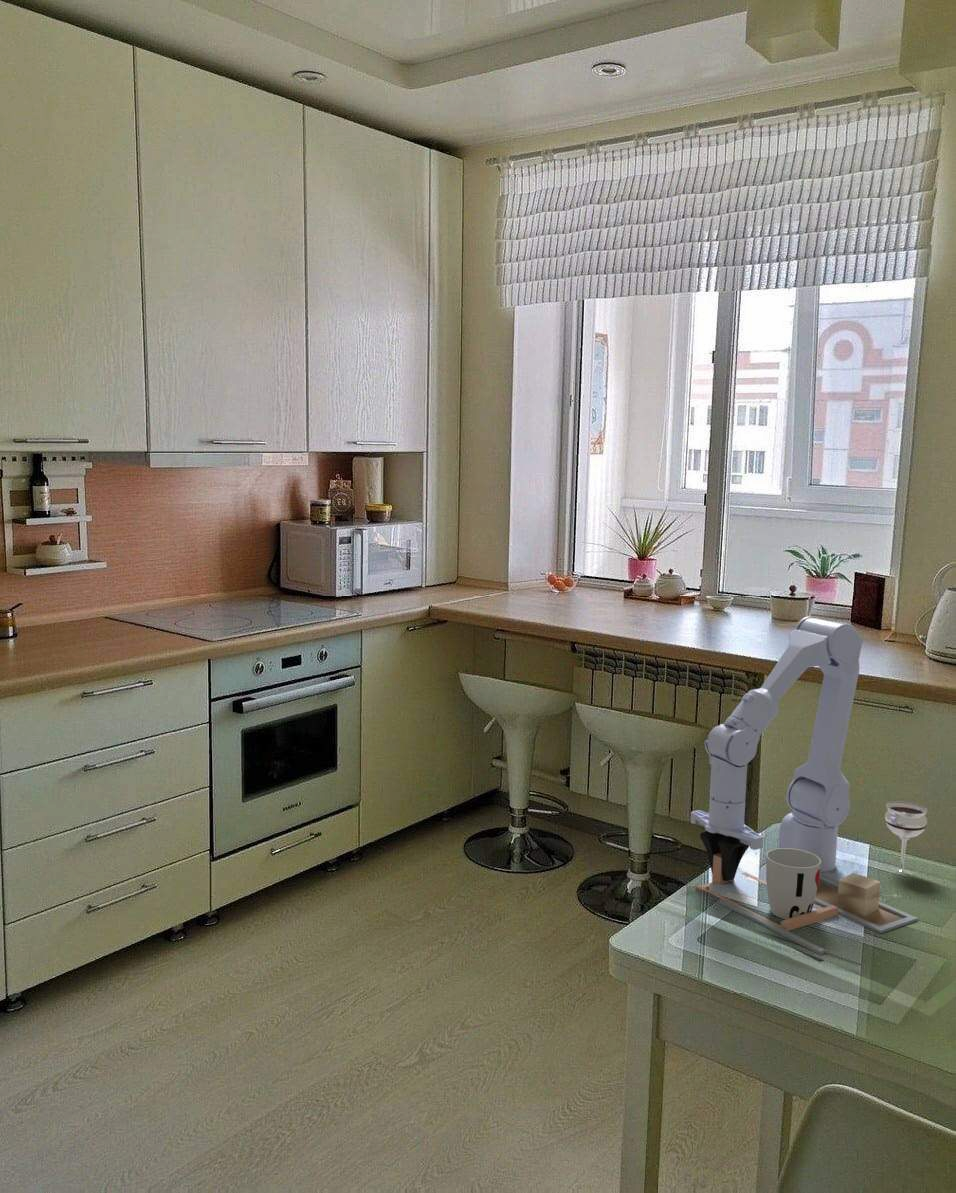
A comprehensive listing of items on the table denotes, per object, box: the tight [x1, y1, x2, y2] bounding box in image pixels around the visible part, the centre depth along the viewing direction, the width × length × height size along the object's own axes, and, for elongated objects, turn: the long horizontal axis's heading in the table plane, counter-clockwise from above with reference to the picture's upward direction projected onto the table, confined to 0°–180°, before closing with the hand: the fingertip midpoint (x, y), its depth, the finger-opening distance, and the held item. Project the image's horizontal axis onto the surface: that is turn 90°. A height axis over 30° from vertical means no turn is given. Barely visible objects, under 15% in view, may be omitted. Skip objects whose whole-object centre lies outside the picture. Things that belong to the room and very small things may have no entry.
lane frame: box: [719, 875, 919, 963], centre depth 160 cm, size 20×22×2 cm
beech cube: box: [837, 872, 881, 917], centre depth 162 cm, size 4×4×4 cm
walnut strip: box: [815, 881, 903, 927], centre depth 164 cm, size 17×6×5 cm, turn 32°
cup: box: [765, 847, 821, 920], centre depth 159 cm, size 8×8×10 cm
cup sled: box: [694, 853, 839, 932], centre depth 164 cm, size 19×12×6 cm, turn 32°
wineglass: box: [884, 801, 928, 876], centre depth 178 cm, size 7×7×12 cm
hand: (723, 877), depth 172 cm, fingers closed on cup sled, 2 cm apart
